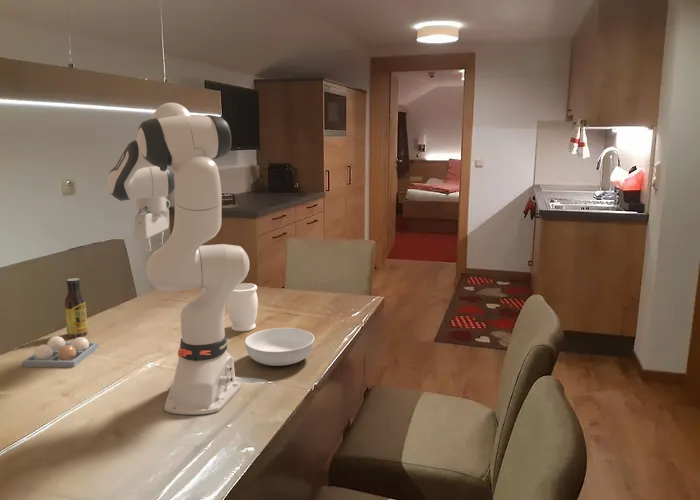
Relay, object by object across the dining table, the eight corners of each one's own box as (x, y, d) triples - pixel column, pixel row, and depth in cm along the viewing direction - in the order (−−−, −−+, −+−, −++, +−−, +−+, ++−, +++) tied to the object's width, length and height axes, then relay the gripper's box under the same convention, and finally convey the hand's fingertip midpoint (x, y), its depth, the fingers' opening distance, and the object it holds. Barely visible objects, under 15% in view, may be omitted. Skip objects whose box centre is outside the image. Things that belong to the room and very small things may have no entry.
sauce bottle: (80, 340, 188) (74, 282, 184) (63, 339, 189) (57, 281, 185) (92, 333, 194) (87, 277, 190) (76, 332, 196) (70, 276, 192)
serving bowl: (323, 350, 179) (323, 330, 178) (300, 378, 160) (300, 355, 158) (263, 344, 185) (262, 324, 184) (233, 369, 165) (232, 347, 164)
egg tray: (74, 368, 166) (73, 361, 166) (23, 368, 167) (22, 361, 166) (98, 349, 181) (98, 342, 180) (51, 348, 181) (51, 342, 181)
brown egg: (71, 364, 167) (70, 347, 167) (55, 364, 168) (53, 347, 167) (80, 358, 172) (78, 342, 172) (64, 358, 173) (62, 342, 172)
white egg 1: (48, 364, 168) (46, 348, 167) (31, 364, 168) (29, 348, 167) (57, 357, 173) (55, 342, 172) (41, 357, 173) (39, 342, 172)
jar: (242, 335, 193) (240, 292, 190) (222, 328, 199) (220, 287, 196) (265, 326, 201) (263, 285, 198) (244, 320, 207) (243, 281, 204)
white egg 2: (60, 355, 175) (59, 339, 174) (44, 354, 175) (43, 339, 174) (69, 348, 180) (67, 333, 178) (53, 348, 180) (51, 333, 179)
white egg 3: (84, 358, 175) (85, 344, 173) (68, 354, 174) (68, 341, 172) (90, 348, 179) (92, 335, 177) (74, 345, 179) (75, 332, 177)
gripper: (148, 209, 169) (151, 255, 172) (171, 201, 189) (174, 241, 192) (127, 209, 170) (131, 254, 172) (152, 201, 190) (155, 241, 192)
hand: (154, 247), depth 183 cm, fingers open, 8 cm apart
